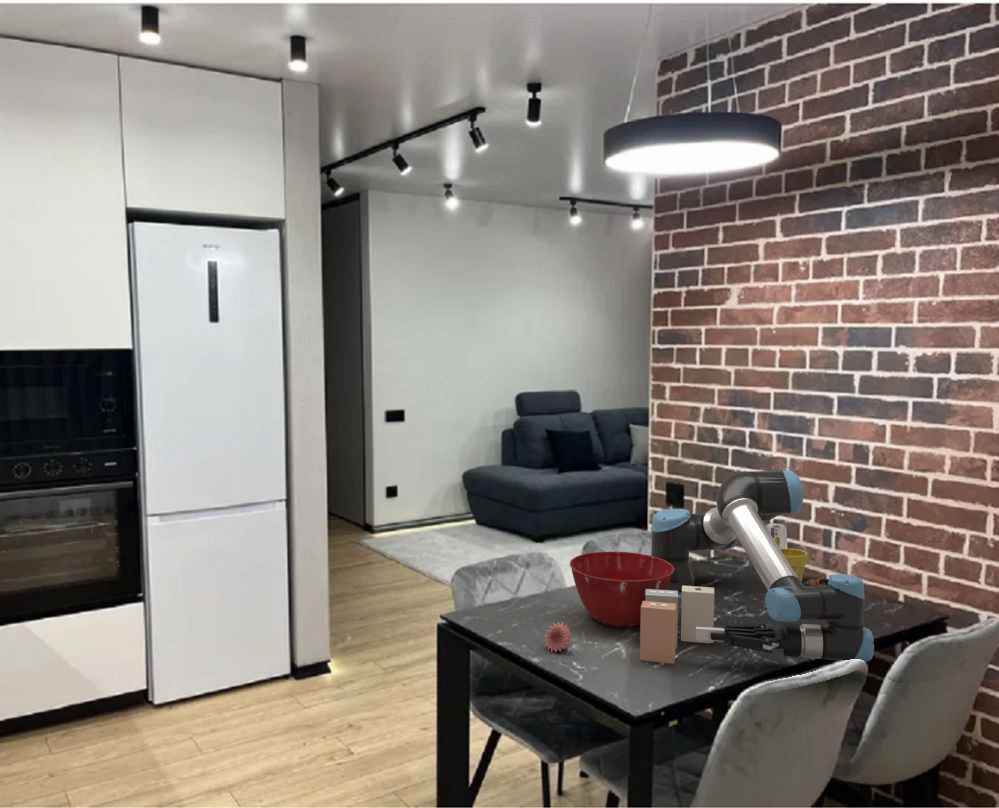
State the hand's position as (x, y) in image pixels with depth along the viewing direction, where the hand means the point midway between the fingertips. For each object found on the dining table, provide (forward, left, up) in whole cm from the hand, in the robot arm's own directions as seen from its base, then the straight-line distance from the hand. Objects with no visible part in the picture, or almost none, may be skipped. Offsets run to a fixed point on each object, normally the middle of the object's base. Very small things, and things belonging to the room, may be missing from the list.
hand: (695, 633), depth 192 cm
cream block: (-8, +13, -7) cm, 17 cm away
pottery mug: (+1, +65, -7) cm, 65 cm away
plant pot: (-15, +78, -7) cm, 80 cm away
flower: (-28, -18, -7) cm, 34 cm away
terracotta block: (-8, -5, -7) cm, 11 cm away
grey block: (-13, +4, -7) cm, 15 cm away
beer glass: (-25, +88, -7) cm, 92 cm away
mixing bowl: (-31, +11, -7) cm, 34 cm away
